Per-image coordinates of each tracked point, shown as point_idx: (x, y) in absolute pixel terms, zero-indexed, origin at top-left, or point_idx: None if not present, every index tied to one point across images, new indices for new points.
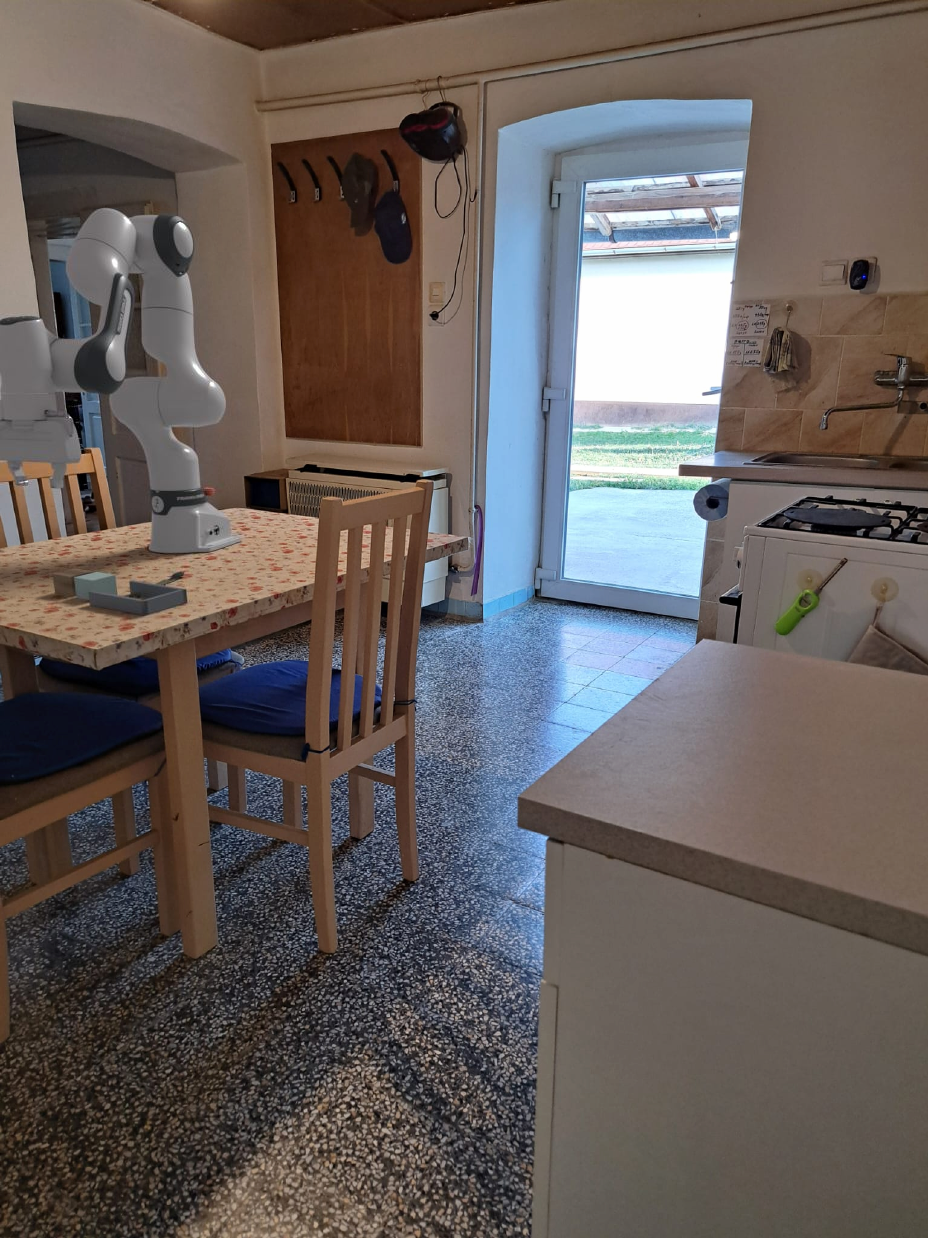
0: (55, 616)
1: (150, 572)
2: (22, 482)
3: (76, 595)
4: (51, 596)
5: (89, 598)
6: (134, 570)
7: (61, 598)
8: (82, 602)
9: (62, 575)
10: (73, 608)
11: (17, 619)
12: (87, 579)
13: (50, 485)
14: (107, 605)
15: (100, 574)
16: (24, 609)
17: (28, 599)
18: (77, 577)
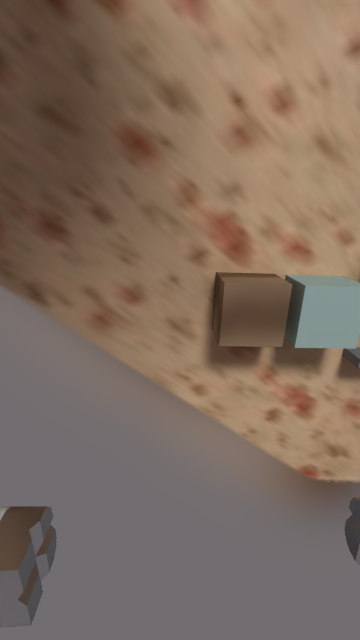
0: (334, 422)
1: (264, 32)
2: (47, 556)
3: None
4: None
5: (350, 360)
6: (199, 33)
7: None
8: None
9: (254, 346)
10: (328, 380)
11: (290, 455)
12: (337, 347)
13: (357, 555)
14: None
15: (333, 300)
16: (253, 419)
17: (202, 378)
18: (302, 345)
